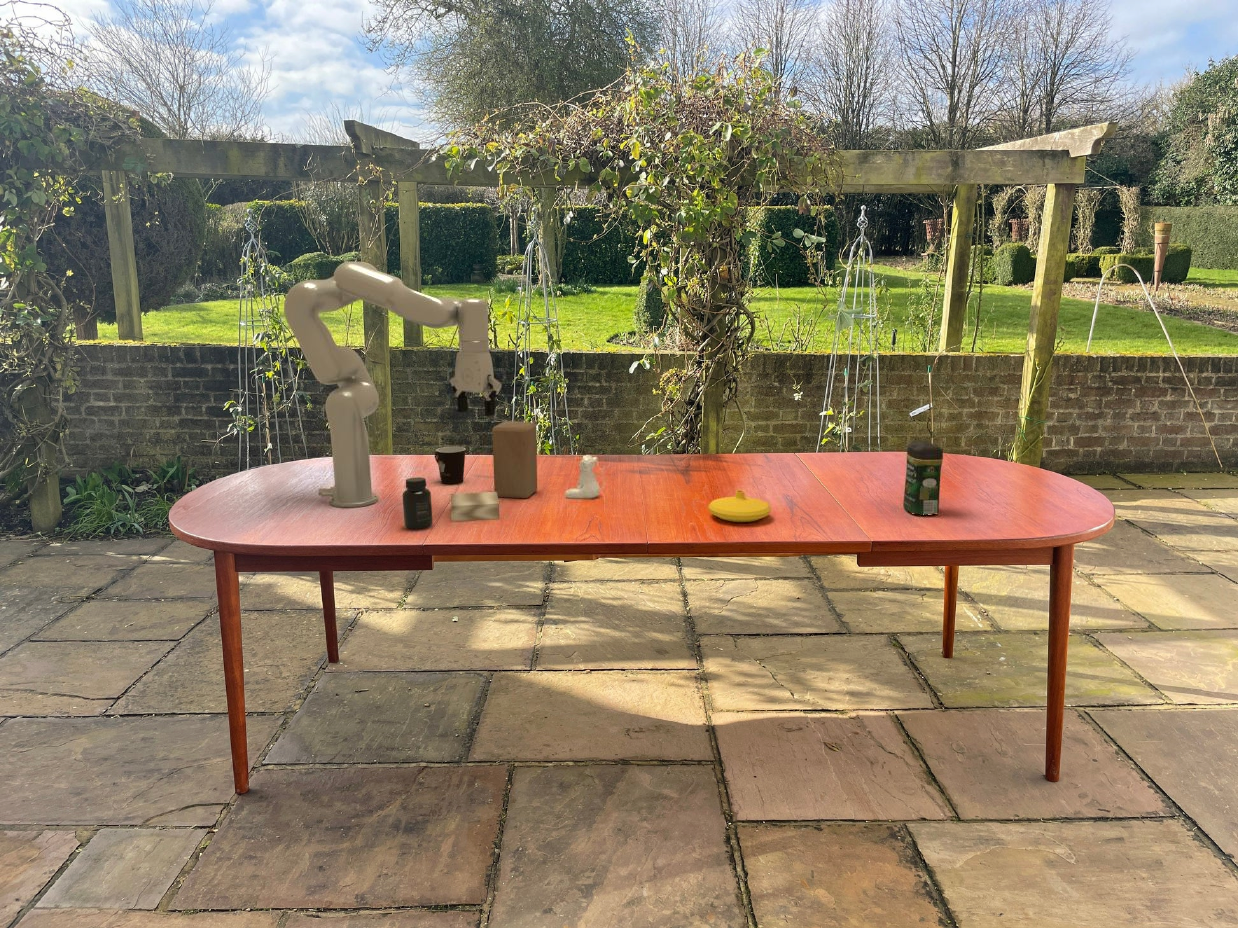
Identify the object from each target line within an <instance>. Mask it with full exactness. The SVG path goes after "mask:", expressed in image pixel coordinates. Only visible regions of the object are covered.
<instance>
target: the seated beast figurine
mask: <svg viewBox="0 0 1238 928" xmlns="http://www.w3.org/2000/svg"><path fill="white" fill-rule="evenodd" d="M597 461H598V457H597V456H594V457H593V456H592V455H590V454H586V455H583V456H582V459H581V460H580V462H579V465H578V468H579V469H580V470H579V472H580V473H579V477H578V482H577V486H576V487H575V488H569V489H567V490H565V498H566V499H579V500H581V499H582V500H583V499H585V500H589V499H595V498H597V497H599V494H600V491H601V486H600V484H599V483H598V481H597V479H596V478H597V477H596V473H595V471H594V470H593V469H594V467H595V466H596V462H597Z"/></svg>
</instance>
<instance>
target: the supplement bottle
mask: <svg viewBox="0 0 1238 928" xmlns="http://www.w3.org/2000/svg"><path fill="white" fill-rule="evenodd" d="M405 488H406V489H405V490H404V491H403V493H402V507H403V509H402V511H403V521H404V527H405V528H406V529H407V530H410V531H420V530H426V529H429V528H431V527H432V526H433V505H432V494H431V491H430V490H429V488H427V480H426V478H425V477H419V476H418V477H410V478H406V479H405Z"/></svg>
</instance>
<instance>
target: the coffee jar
mask: <svg viewBox="0 0 1238 928" xmlns="http://www.w3.org/2000/svg"><path fill="white" fill-rule="evenodd" d="M943 460H944V450H943V448H941V447H940V446H938V445H936V444H934V443H932V442H929V441H928V440H913V441H911V442H910V443H909V444H908V445H907V449H906V469H905V470H906V471H905V480H904V481H905V483H904V494H903V503H902V504H903V508H904V510H905V509H906V510H905V511H906V512H908V511H909V512H910V513H909V512H908V513H909V514H911V513H914V514H920V515H919V516H921V515H923V514H924V515H928V514H935V513H938V514H939V513H940V512H939V511H940V509H939V508H940V490H941V489H940V488H941V474H942V473H941V472H942V467H943V466H942V465H943Z"/></svg>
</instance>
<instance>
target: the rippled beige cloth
mask: <svg viewBox="0 0 1238 928" xmlns="http://www.w3.org/2000/svg"><path fill="white" fill-rule="evenodd" d="M450 514H451V515H450V516H451V519H450V520H451V522H463V521H465V522H466V521H481V520H482V521H484V520H485V521H486V520H499V519H500V516H501V515H500V514H501V513H500V501H499V497H498V496H497V492H494V491H489V492H488V491H485V492H465V493H451V494H450Z"/></svg>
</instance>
